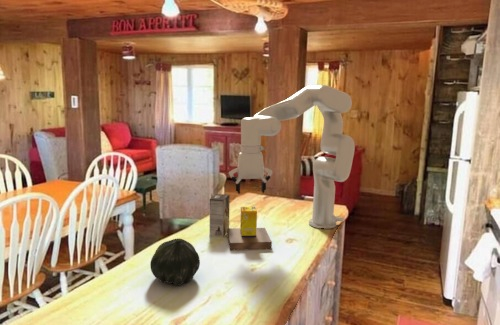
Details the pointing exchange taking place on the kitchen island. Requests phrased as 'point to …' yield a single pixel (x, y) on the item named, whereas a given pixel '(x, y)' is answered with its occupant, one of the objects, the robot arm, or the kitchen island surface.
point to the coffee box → (219, 215)
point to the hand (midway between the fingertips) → (250, 192)
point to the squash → (175, 262)
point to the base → (248, 240)
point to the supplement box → (248, 222)
